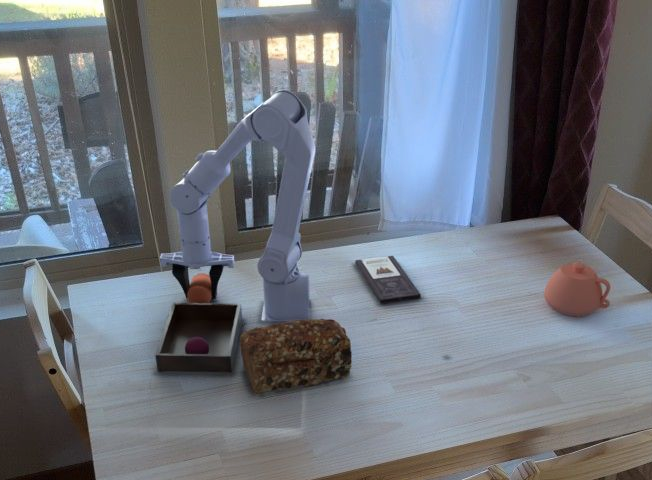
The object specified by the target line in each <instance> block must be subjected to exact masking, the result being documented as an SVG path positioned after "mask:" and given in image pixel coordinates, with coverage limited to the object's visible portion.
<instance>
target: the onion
mask: <svg viewBox="0 0 652 480" xmlns="http://www.w3.org/2000/svg"><path fill="white" fill-rule="evenodd" d="M185 352H186V354H208V353H209V345H208V343H207V341H206V340H204V339H203V338H201V337H193V338H191V339H189V340H188V341H187V343H186V345H185Z"/></svg>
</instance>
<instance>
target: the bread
mask: <svg viewBox="0 0 652 480" xmlns="http://www.w3.org/2000/svg"><path fill="white" fill-rule="evenodd" d="M239 346H240V354H241V358H242V364H243V368H244V371H245V374H246V376H247V379H248V382H249V385H250V387H251V389H252V391H253V393H254V394H265V393H266V392H270V391H271V392H272V391H279V390H280V391H281V390H286V389H291V388H297V387H302V386H303V387H309V386H310V387H311V386H315V385H320V384H322V383H327V382H329V381H330V382H331V381H334V380H338V379H339V380H340V379H346V378H348V377H349V376H350V374H351V369H352V364H353V363H352V362H353V361H352V359H353V357H352V354H353V353H352V352H353V351H352V346H351V339H350V337H348V335H347V332H346V329H345V328H344V327H343V326H341V324H340V323H339V322H338V321H336V320H334V319H331V318H328V319H326V318H309V319H301V320H294V321H281V322H278V323H271V324H268V325H266V326H265V325H264V326H259V327H254V328H251V329H249V330H246V331H244V332H242V334H241V335H240V336H239Z"/></svg>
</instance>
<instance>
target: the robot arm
mask: <svg viewBox="0 0 652 480" xmlns="http://www.w3.org/2000/svg"><path fill="white" fill-rule="evenodd" d="M261 140H264V141H265V142H267V143H268V144H269V145H271V146H272V147H273V148H275V149H276V150H277V151H279V152H280V153H281V154H282V155H283V157H284V164H283V167H282V168H283V169H282V173H281V178H280V184H279V190H278V195H277V201H276V207H275V211H274V212H275V213H274V217H273V221H272V228H271V233H270V234H269V235H270V236H269V238H268V240H267V242H266V245H265V249H264V253H263V254H262V255H261V257H260V258H259V259H258V261H257V265H256V266H257V272H258V273H259V275H260V277H261V278H262V287H263V307H262V312H261V319H260V320H261V321H262V322H291V321H294V320H301V319H310V310H311V309H312V299H311V298H310V297H311V290H310V289H311V288H310V286H311V285H310V274H308V273H303V272H300V270H299V267H298V262H299V260H301V258H302V256H303V255H302V254H303V247H302V245H301V237H302V235H301V233H300V232H299V231H300V226H301V221H302V217H303V213H304V207H305V202H306V199H307V193H308V187H309V183H310V178H311V173H312V168H313V164H314V160H315V154H316V143H315V140H314V138H313V134H312V131H311V128H310V124H309V120H308V108H307V107H306V105H305V104H304V103H303V102H302V101H301V99H300V98H299V97H298V95H296V93H294V92H293V91H291V90H289V89H279V90H276V91H275V92H273V93H272V95H270V97H269V98H268V99H266V100H264V101H263V102H262V103H260V104H259V105H258V106H257V107H256V108H254V109H253V110H252V111H251V112H249V113H248V114H247V115H246V116H245V117H243V119H241V120H240V121H239V123H238V124H237V125H236V126H235V128H234V129H233V130H232V131H231V133H230V134H229V135H228V136H227V138H225V140H224V141H223V143H222V144H221V145H220V146H219V147H218V149H216V150H206V151H205V152H200V153H198V155H197V156H196V157H195V161H196V162H195V164H194V165H193V166H192V167H191V168H190V169H189V170H187V169H186V170H185V171H184V172H183V174H182V177H183V178H182V179H181V181H179V182H178V183H176V184H175V185H173V186H172V189H171V191H170V193H169V199H170V203H171V205H172V206H173V207H174V209H175V210H176V214H177V223H178V231H179V240H180V247H181V251H178V252H177V251H176V252H169V253H160V256H159V262H160V267H162V268H165V267H167V266H172V268H171V269H172V270H171V274H172V276H173V277H174V278H175V280H177V282H178V283H179V285H180V288H181V289H182V291H183V294H184V296H185V299H188V298H187V294H188V290H189V287H190V284H191V281H190V276H189V275H190V274H189V269H190V270H200V269H201V268H204V267H210V268H209V272H208V275H209V276H210V280H211V286H212V297H211V300H216V299H217V296H218V286H219V285H218V284H219V282H220V279H221V277H222V274H223V272H224V267H228V268H229V269H234V268H235V264H236V263H235V255H234V254H225V253H221V252H216V251H212V246H211V236H210V225H209V214H208V206H207V205H208V203H207V202H208V201H209V199H210V198H211V195H212V194H213V193H214V192H215V191H216V189H218V188H219V186H220V185H221V184H223V182H224V181H225V180H226V179H227V177H229V175H230V174H231V171H232V169H231V168H232V167H231V162H232V161H233V160H234V159H235V158H236V157H237V156H238V155H239V154H240V153H241V151H242V150H244V148H245V147H246V146H247V145H248V144H249V143H250V142H251V141H254V142H255V141H256V142H260V141H261Z"/></svg>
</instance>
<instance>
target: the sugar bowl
mask: <svg viewBox="0 0 652 480" xmlns="http://www.w3.org/2000/svg"><path fill="white" fill-rule="evenodd" d="M602 284H603V285H604V286H605V291H604V294H603V287H602ZM610 292H611V283H610V282H609V281H608V280H607V279H605V278H603V277H599V276H598V274H597V272H596V270H594V268H592V267H591V266H588V265H586V264H584V263H582V262H577V261H576V262H570V263H566V264H563V265H562V266H560V267H559V268H558V269H557V270H556V271H555V272H554V273H553V274H552V275H551V277H550V278H549V279H548V281H547V283H546V285H545V287H544V291H543V296H544V300H545V301H546V303H547V304H548V305H549V307H550V309H551V310H553V311H555V312H557V313H559V314H562V315H564V316H565V315H566V316H569V317H570V316H571V317H576V318H583V317H585V316H589V315H590V314H592V313H594V312H595V311H597V310H598V309H599V308H601V309H607V308H609V307H610V300H609V299H608V298H607V297H608V295H609V293H610ZM606 298H607V299H606Z"/></svg>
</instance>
